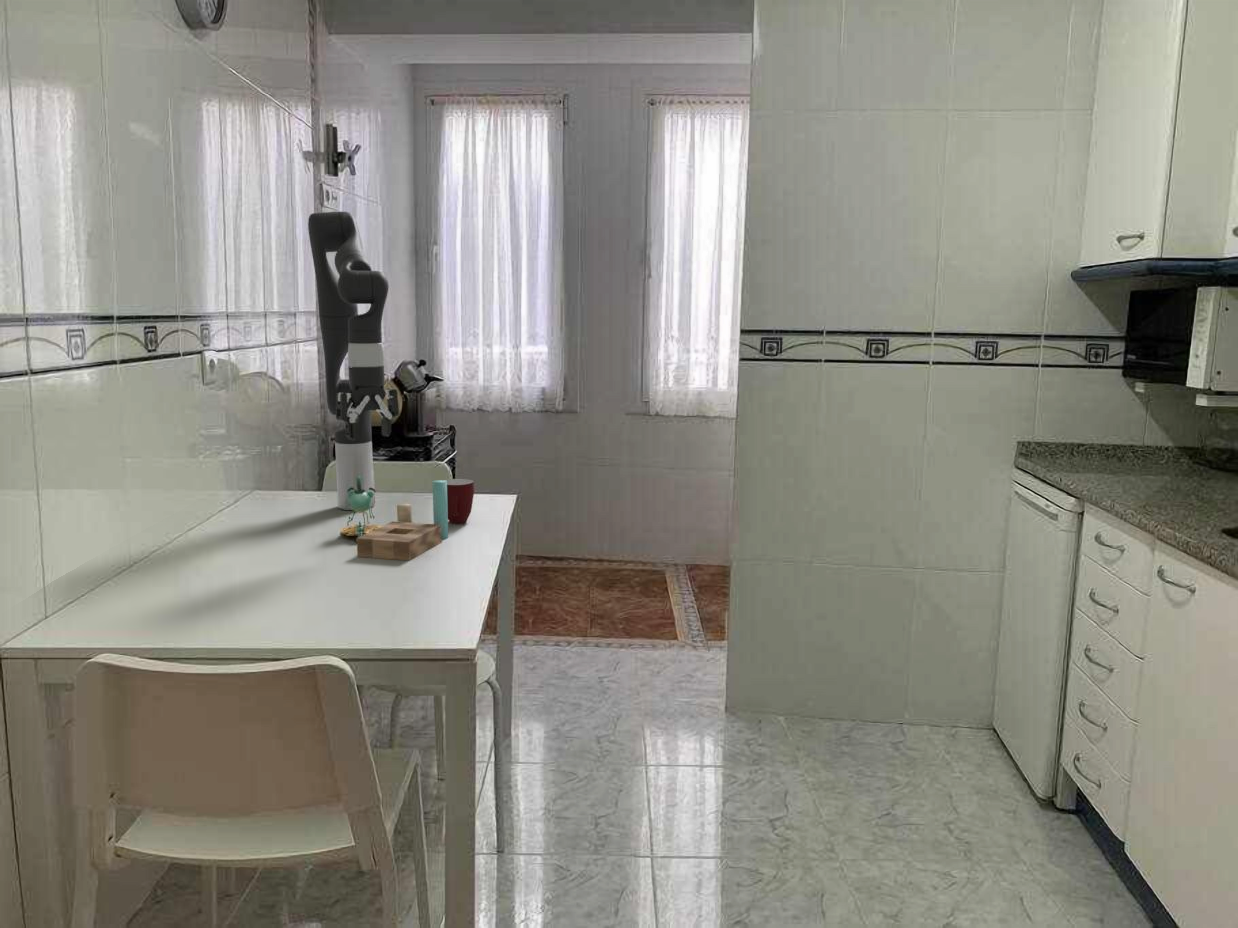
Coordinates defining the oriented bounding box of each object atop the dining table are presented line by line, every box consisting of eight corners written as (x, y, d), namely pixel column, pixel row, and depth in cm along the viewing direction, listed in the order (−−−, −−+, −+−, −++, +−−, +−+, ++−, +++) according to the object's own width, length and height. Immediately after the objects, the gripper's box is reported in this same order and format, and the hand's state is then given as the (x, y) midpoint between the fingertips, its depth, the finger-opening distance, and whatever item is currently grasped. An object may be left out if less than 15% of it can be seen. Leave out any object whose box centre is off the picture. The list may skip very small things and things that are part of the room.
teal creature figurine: (327, 545, 215) (325, 479, 214) (351, 534, 233) (350, 473, 232) (369, 545, 214) (368, 478, 213) (391, 534, 232) (389, 473, 231)
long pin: (437, 535, 223) (436, 480, 221) (450, 536, 222) (449, 480, 220) (431, 538, 220) (430, 482, 218) (444, 539, 219) (443, 483, 217)
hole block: (393, 538, 220) (392, 521, 219) (441, 542, 217) (441, 524, 216) (357, 556, 205) (356, 538, 204) (409, 560, 202) (408, 542, 201)
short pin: (402, 532, 225) (401, 503, 224) (414, 533, 225) (413, 504, 223) (395, 536, 222) (394, 506, 221) (408, 536, 222) (407, 507, 220)
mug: (474, 527, 231) (473, 486, 229) (440, 528, 229) (439, 487, 228) (474, 517, 241) (473, 478, 239) (441, 518, 240) (440, 479, 238)
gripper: (384, 362, 218) (387, 433, 221) (327, 364, 208) (330, 439, 210) (403, 363, 213) (406, 436, 215) (345, 366, 203) (349, 443, 205)
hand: (368, 437), depth 213 cm, fingers open, 8 cm apart
